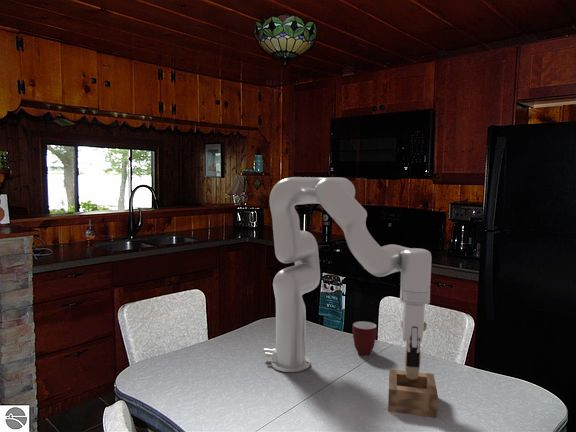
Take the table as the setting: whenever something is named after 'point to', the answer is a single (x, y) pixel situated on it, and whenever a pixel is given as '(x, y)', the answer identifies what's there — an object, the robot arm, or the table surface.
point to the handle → (410, 371)
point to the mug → (364, 337)
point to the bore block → (412, 394)
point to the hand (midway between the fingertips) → (412, 362)
